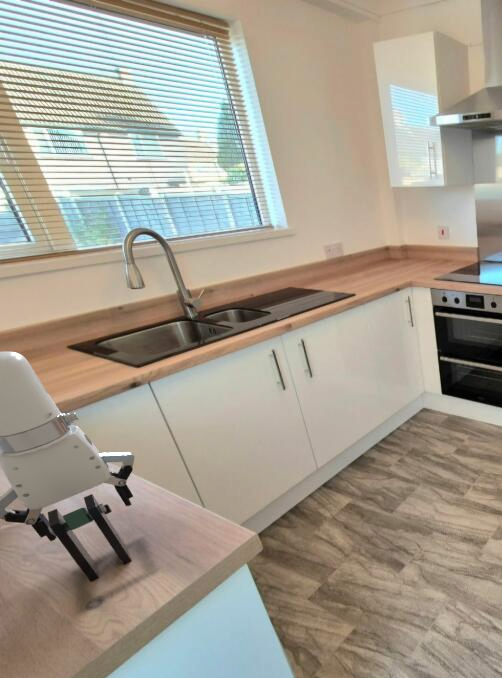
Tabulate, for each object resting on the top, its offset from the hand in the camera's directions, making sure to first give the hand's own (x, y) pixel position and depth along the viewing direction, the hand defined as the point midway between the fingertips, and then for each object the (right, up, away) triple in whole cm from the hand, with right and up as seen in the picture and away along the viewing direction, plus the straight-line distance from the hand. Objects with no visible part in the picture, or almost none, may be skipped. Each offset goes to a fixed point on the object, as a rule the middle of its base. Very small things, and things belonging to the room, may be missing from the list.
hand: (92, 518), depth 72 cm
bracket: (+7, -7, -4) cm, 11 cm away
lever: (+4, +1, -4) cm, 6 cm away
